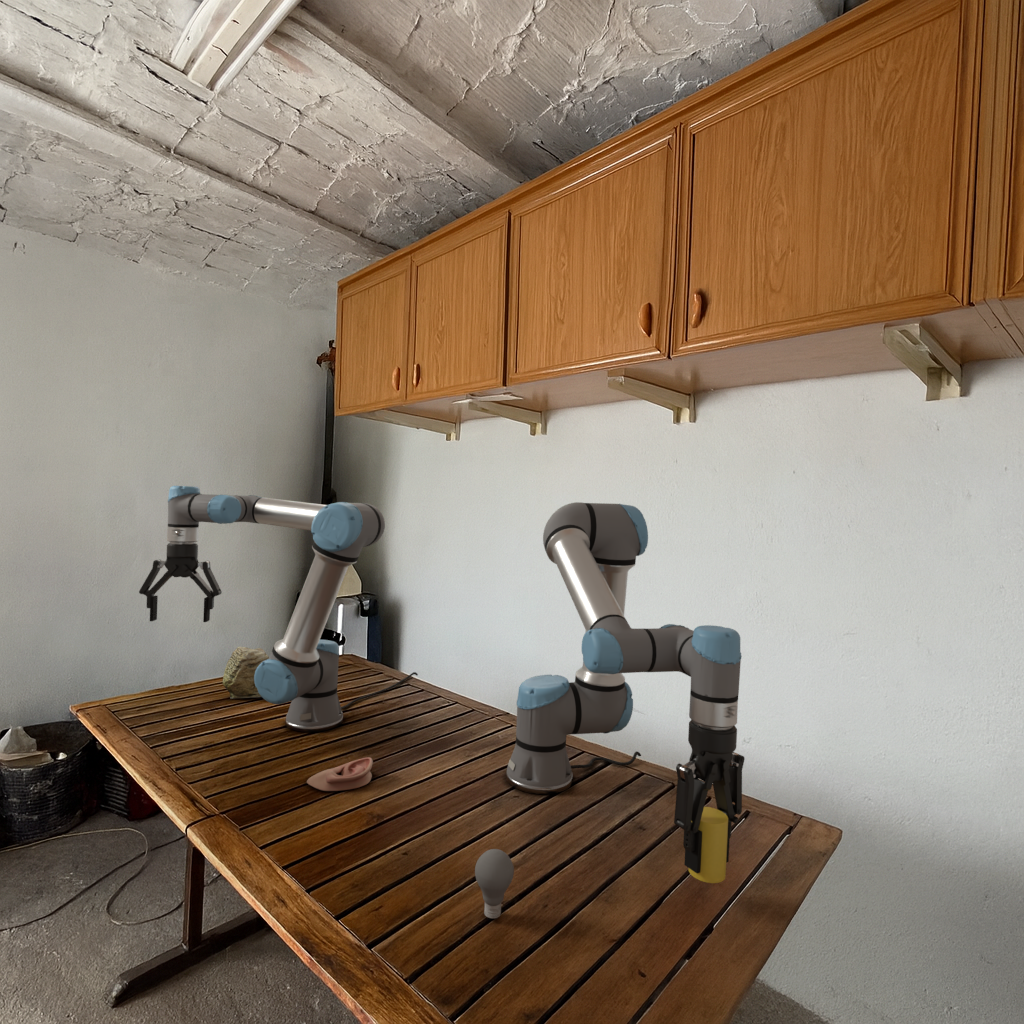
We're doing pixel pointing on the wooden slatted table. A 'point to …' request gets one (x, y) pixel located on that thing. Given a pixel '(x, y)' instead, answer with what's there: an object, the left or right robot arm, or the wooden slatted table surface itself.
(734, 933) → the wooden slatted table surface
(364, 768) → the anatomical model
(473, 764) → the wooden slatted table surface
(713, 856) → the cylinder
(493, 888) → the light bulb
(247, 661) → the fossil
